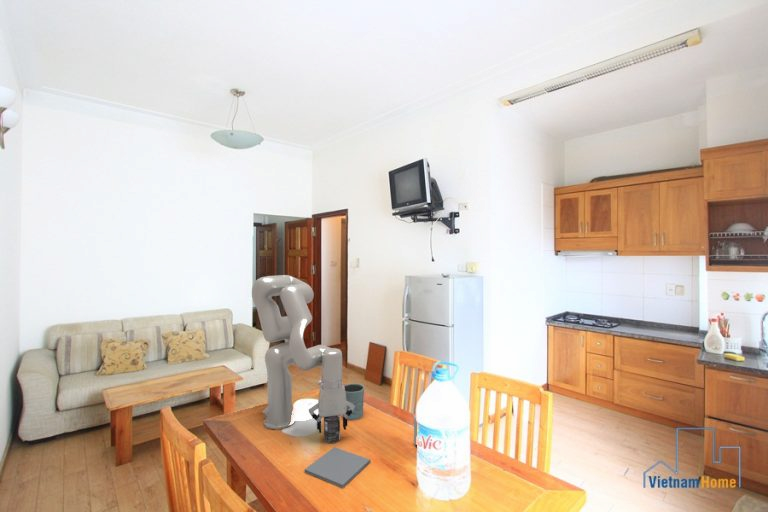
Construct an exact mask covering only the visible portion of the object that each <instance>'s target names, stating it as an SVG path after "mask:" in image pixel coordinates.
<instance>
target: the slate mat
mask: <svg viewBox="0 0 768 512" xmlns="http://www.w3.org/2000/svg"><path fill="white" fill-rule="evenodd" d="M369 464H371V459H370V458H367V457H364V456H361V455H359V454H355V453H353V452H350V451H347V450H344V449H341V448H339V447H336V446H334V447H332V448H331V449H329V450H328V451H327V452H325V453H324V454H322V455H321V456H320V457H319V458H318V459H316V460H315V461H313V462H312V463H311V464H310V465H308V466H307V467H305V468H304V473H305V474H307V475H309V476H312V477H314V478H317V479H319V480H322V481H324V482H327V483H330V484H332V485H334V486H337V487H339V488H342V489H344V488H345V487H346V486H347V485H348V484H349V483H350V482H351V481H352V480H353V479H354V478H355V477H356V476H358V475H359V474H360V472H362V471H363V470H365V468H366V467H367V466H368V465H369Z"/></svg>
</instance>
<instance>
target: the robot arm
mask: <svg viewBox="0 0 768 512" xmlns="http://www.w3.org/2000/svg"><path fill="white" fill-rule="evenodd" d="M277 296H279V298H280V300H281V303H282V305H283V309H284V311H285V313H286V316H282V315H281V312H280V307H279V305H278V304H277V301H275V300H274V299H273V298H272V297H277ZM314 296H315V295H314V290H313V289H312V287H311V286H310V284H308V283H306V282H304V281H303V280H301V279H298V278H297V277H294V276H291V275H288V274H282V275H267V276H262V277H259V278H258V279H256V280H255V281H254V282H253V284H252V288H251V298H252V302H253V303H254V306H255V309H256V311H257V315H258V318H259V322H260V327H261V331H262V335H263V338H264V340H265V341H266V342H268V343H276V342H280V341H283V340H284V342H282V343H279V344H276V345H273V346H271V347H270V348H268V350H266V352H265V355H264V363H265V367H266V375H267V376H266V377H267V406H266V407H265V408H264V410H262V412H261V413H262V414H263V415H265V418H264V420H263V426H264V427H265V428H267V429H270V430H281V429H286V428H288V427H287V426H288V425H289V424H290V422H291V415H292V414H293V411H292V409H293V406H292V405H293V397H292V395H293V394H292V393H293V390H292V389H293V386H292V385H293V380H292V379H293V378H292V375H291V372H290V370H289V368H288V367H289V366H292V365H295V364H296V366H297V368H299V370H301V371H309V370H310V371H311V370H313V369H315V368H318V367H321V379H320V380H318V381H317V385H319V386H320V387H319V392H318V401H317V403H316V404H314V405H313V406H312V407H310V408H309V409H308V413H309V414H310V416H311V417H312V419H314V421H316V431H318V433H319V434H321V433H322V419H323V418H324V417H329V416H338V415H339V416H342V428H343V430H344V431H346V430H347V427H348V420H347V419H348V417H349V416H350V415H351V413H352V411H353V410H354V408H355V405H354V404H353V403H351V402H349V401H347V400H346V393H345V387H344V385H345V384H343V353H342V350H341V349H339V348H336V347H333V348H332V347H330V346H328V345H324V344H317V345H315V346H311V347H308V348H307V347H306V344H305V341H304V334H305V333H304V332H305V330H306V327H307V326H308V325H310V323H311V322H312V320H313V315H312V314H311V311H310V309H309V307H308V306H309V305H307V304H310V303H311V302H312V301H313V300H314ZM346 405H347V406H349V407H350V409H349V410H348V411H347V412H346ZM316 410H318V413H317V414H316V413H315V412H316ZM285 427H286V428H285Z"/></svg>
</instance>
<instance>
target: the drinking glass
mask: <svg viewBox="0 0 768 512" xmlns="http://www.w3.org/2000/svg"><path fill="white" fill-rule="evenodd" d="M343 385H344V387H345V393H346V400H347V401H349V402H351V403H353V404H354V405H355V408H354V410H353V411H352V413H351V415H350V416H349V417H348V419H347V421H356V420H360V419H362V417H363V415H364V401H365V400H364V396H365V395H364V394H365V386H364V385H363V384H360V383H353V382H352V383H347V384H346V383H345V384H343ZM349 409H350V407H349V406H347V405H346V412H347V411H348V410H349Z"/></svg>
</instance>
